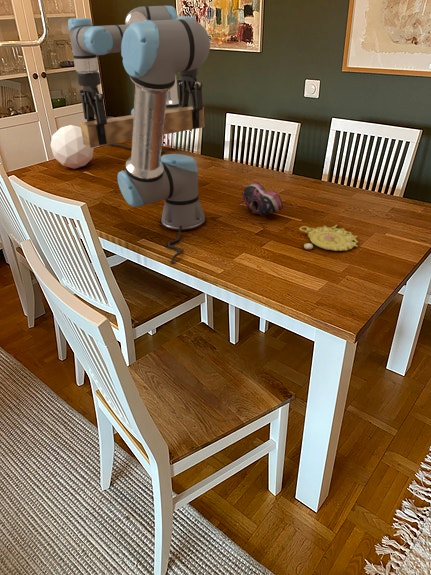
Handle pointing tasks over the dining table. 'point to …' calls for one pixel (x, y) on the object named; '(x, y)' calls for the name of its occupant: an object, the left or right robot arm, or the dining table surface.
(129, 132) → the bar
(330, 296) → the dining table surface
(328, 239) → the decorative object
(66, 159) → the sphere
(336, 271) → the dining table surface
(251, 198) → the athletic shoe
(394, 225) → the dining table surface
